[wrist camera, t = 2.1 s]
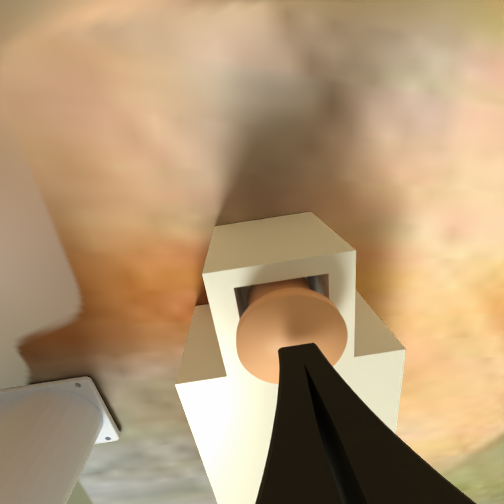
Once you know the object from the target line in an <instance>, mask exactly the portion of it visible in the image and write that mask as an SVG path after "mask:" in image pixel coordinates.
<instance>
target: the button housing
mask: <svg viewBox="0 0 504 504" xmlns="http://www.w3.org/2000/svg"><path fill="white" fill-rule="evenodd" d="M202 276H203V280H204V285H205V289H206V293H207V297H208V301H209V304H205V305H199V306H195V309H194V313H193V317H192V320H191V324H190V328H189V332H188V336H187V340H186V344H185V348H184V352H183V356H182V360H181V363H180V367H179V371H178V375H177V379H176V383H175V386H176V388H177V391H178V394H179V397H180V400H181V402H182V405H183V408H184V411H185V414H186V416H187V419H188V422H189V425H190V427H191V430H192V433H193V436H194V439H195V441H196V444H197V447H198V450H199V452H200V455H201V458H202V461H203V464H204V466H205V469H206V472H207V475H208V478H209V480H210V483H211V486H212V489H213V491H214V494H215V497H216V500H217V503H218V504H255V503H256V499H257V495H258V491H259V487H260V484H261V480H262V476H263V472H264V468H265V463H266V459H267V455H268V450H269V445H270V440H271V435H272V429H273V423H274V417H275V411H276V404H277V395H278V385H279V384H273V383H269V382H266V381H263V380H261V379H258V378H257V377H255V376H253V375H252V374H251V373H249V372H248V371H247V370H246V369H245V368H244V366H243V365H242V364H241V362H240V360H239V358H238V354H237V349H236V330H237V326H238V323H239V320H240V318H241V316H242V314H243V313H244V312H245V310H246V309H247V308H248V300H247V294H248V290H249V287H250V285H256V284H262V283H269V282H275V281H282V280H288V279H295V278H301V277H304V278H305V280H306V281H307V283H308V285H309V287H310V289H311V290H313V291H316V292H318V293H320V294H322V295H324V296H325V297H327V298H328V299H329V300H331V302H332V303H333V304H334V305H335V306H336V308H337V309H338V311H339V312H340V314H341V316H342V317H343V319H344V321H345V323H346V327H347V333H348V338H347V344H346V348H345V350H344V352H343V354H342V356H341V358H340V359H339V360H338V362H337V363H336V364H335V365H334V366H333V367H334V369H335V370H336V371H337V372H338V374H339V375H340V376H341V377H342V378H343V379H344V381H345V382H346V383H347V384H348V385H349V386H350V387H351V389H352V390H353V391H354V392H355V393H356V394H357V395H358V396H359V398H360V399H361V400H362V401H363V402H364V403H365V404H366V405H367V406H368V407H369V408H370V409H371V410H372V411H373V412H374V413H375V414H376V415H377V416H378V417H379V418H380V419H381V420H382V421H383V422H384V423H385V424H386V425H387V426H388V427H389V428H390V429H391V430H392V431H393V432H394V433H395V434H396V427H397V419H398V411H399V403H400V394H401V386H402V378H403V370H404V361H405V353H406V349H405V347H404V346H403V345H402V344H401V343H400V342H399V340H398V339H397V338H396V337H395V336H394V334H393V333H392V332H391V331H390V330H389V328H388V327H387V326H386V325H385V324H384V322H383V321H382V320H381V319H380V318H379V317H378V315H377V314H376V313H375V312H374V311H373V309H372V308H371V307H370V306H369V305H368V303H367V302H366V301H365V300H364V299H363V297H362V296H361V295H360V294H359V293H358V292H357V290H356V289H355V282H356V250H355V249H354V248H353V247H352V246H350V245H349V244H348V243H347V242H346V241H345V240H344V239H342V238H341V237H340V236H339V235H338V234H337V233H335V232H334V231H333V230H332V229H331V228H330V227H328V226H327V225H326V224H325V223H324V222H323V221H321V220H320V219H319V218H318V217H317V216H316V215H314V214H313V213H312V212H305V213H298V214H292V215H285V216H279V217H272V218H266V219H259V220H253V221H246V222H240V223H233V224H227V225H220V226H215V227H214V231H213V234H212V238H211V242H210V246H209V249H208V253H207V257H206V260H205V264H204V268H203V272H202Z"/></svg>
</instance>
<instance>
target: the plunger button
mask: <svg viewBox="0 0 504 504" xmlns="http://www.w3.org/2000/svg"><path fill="white" fill-rule="evenodd" d="M247 300H248V308H247V309H246V310H245V312H244V313H243V314H242V316H241V318H240V320H239V323H238V326H237V330H236V349H237V354H238V358H239V360H240V362H241V364H242V365H243V366H244V368H245V369H246V370H247V371H248V372H249V373H251V374H252V375H253V376H255V377H257V378H258V379H261V380H263V381H266V382H269V383H273V384H279V356H278V350H279V349H280V348H281V347H288V346H294V345H301V344H307V343H315V344H316V345H317V346H318V347H319V349H320V350H321V352H322V353H323V354H324V356H325V357H326V358H327V360H328V361H329V362H330V364H331V365H332V366H334V365H335V364H336V363H337V362H338V360H339V359H340V358H341V356H342V354H343V352H344V350H345V348H346V344H347V338H348V333H347V327H346V323H345V321H344V319H343V317H342V316H341V314H340V312H339V311H338V309H337V308H336V306H335V305H334V304H333V303H332V302H331V300H329V299H328V298H327V297H325V296H324V295H322V294H320V293H318V292H316V291H313V290H311V289H310V287H309V285H308V283H307V281H306V280H305V278H304V277H301V278H295V279H288V280H282V281H275V282H269V283H262V284H256V285H250V287H249V290H248V294H247Z"/></svg>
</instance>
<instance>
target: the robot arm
mask: <svg viewBox="0 0 504 504" xmlns="http://www.w3.org/2000/svg"><path fill="white" fill-rule="evenodd" d="M278 356H279V385H278V395H277V404H276V411H275V417H274V423H273V429H272V435H271V440H270V445H269V450H268V455H267V459H266V463H265V468H264V472H263V476H262V480H261V484H260V487H259V491H258V495H257V499H256V503H255V504H476V503H475V502H473V501H472V500H471V499H470V498H469V497H467V496H466V495H465V494H464V493H462V492H461V491H460V490H459V489H458V488H456V487H455V486H454V485H453V484H451V483H450V482H449V481H448V480H446V479H445V478H444V477H443V476H442V475H440V474H439V473H438V472H437V471H436V470H435V469H434V468H432V467H431V466H430V465H429V464H428V463H427V462H426V461H424V460H423V459H422V458H421V457H420V456H419V455H418V454H416V453H415V452H414V451H413V450H412V449H411V448H410V447H409V446H408V445H407V444H406V443H404V442H403V441H402V440H401V439H400V438H399V437H398V436H397V435H396V434H395V433H394V432H393V431H392V430H391V429H390V428H389V427H388V426H387V425H386V424H385V423H384V422H383V421H382V420H381V419H380V418H379V417H378V416H377V415H376V414H375V413H374V412H373V411H372V410H371V409H370V408H369V407H368V406H367V405H366V404H365V403H364V402H363V401H362V400H361V399H360V398H359V396H358V395H357V394H356V393H355V392H354V391H353V390H352V389H351V387H350V386H349V385H348V384H347V383H346V382H345V381H344V379H343V378H342V377H341V376H340V375H339V374H338V372H337V371H336V370H335V369H334V367H333V366H332V365H331V364H330V362H329V361H328V360H327V358H326V357H325V356H324V354H323V353H322V352H321V350H320V349H319V347H318V346H317V345H316V344H315V343H307V344H301V345H294V346H288V347H281V348H280V349H279V350H278ZM119 437H120V432H119V430H118V428H117V426H116V424H115V422H114V421H113V419H112V417H111V415H110V413H109V411H108V409H107V407H106V405H105V404H104V402H103V400H102V398H101V396H100V394H99V392H98V390H97V389H96V387H95V385H94V383H93V381H92V379H91V378H89V377H78V378H71V379H65V380H58V381H52V382H45V383H39V384H32V385H26V386H19V387H13V388H6V389H0V504H66V503H67V501H68V499H69V497H70V495H71V492H72V490H73V488H74V486H75V484H76V482H77V480H78V478H79V476H80V474H81V472H82V469H83V467H84V465H85V463H86V461H87V459H88V457H89V455H90V453H91V450H92V448H93V446H94V444H98V443H104V442H111V441H116V440H118V439H119Z"/></svg>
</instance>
